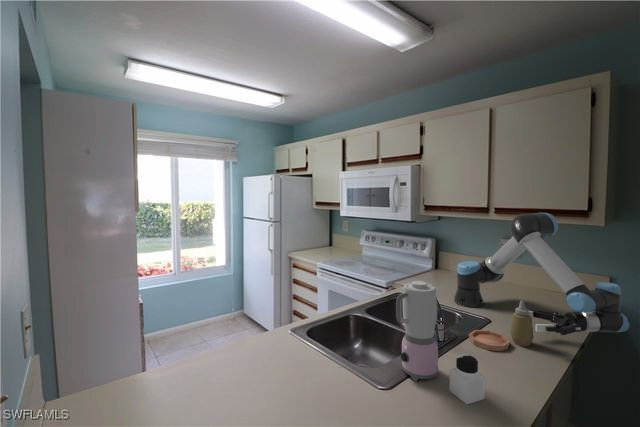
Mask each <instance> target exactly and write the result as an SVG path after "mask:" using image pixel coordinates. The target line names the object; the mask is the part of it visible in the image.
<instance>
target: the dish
mask: <svg viewBox="0 0 640 427" xmlns="http://www.w3.org/2000/svg"><path fill="white" fill-rule="evenodd" d="M468 338H469V339H470V342H471V343H472V344H473V345H475V347H478V348H481V349H483V350H487V351H492V352H503V351H507V350H508V349H509V346H510V345H511V340H509V339H508V338H507V336H505V335H504V334H502V333H499V332H495V331H492V330H488V329H485V330H484V329H473V330H472V331H470V333H468Z"/></svg>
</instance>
